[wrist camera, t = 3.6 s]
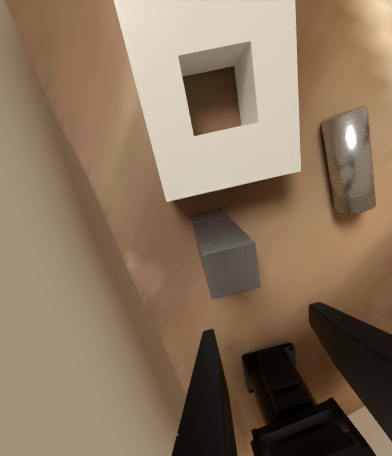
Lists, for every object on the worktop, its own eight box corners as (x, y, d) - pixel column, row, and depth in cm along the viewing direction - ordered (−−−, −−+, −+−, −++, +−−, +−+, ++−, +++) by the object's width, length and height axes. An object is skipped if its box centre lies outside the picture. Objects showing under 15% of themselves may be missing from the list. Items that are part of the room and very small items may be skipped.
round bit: (330, 205, 21) (366, 196, 20) (341, 216, 18) (383, 207, 17) (316, 122, 18) (357, 106, 17) (327, 122, 15) (375, 103, 14)
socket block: (277, 168, 18) (300, 171, 15) (167, 194, 18) (166, 201, 15) (265, -7, 14) (292, -57, 11) (123, 21, 14) (108, -22, 11)
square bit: (227, 238, 20) (260, 287, 12) (197, 246, 20) (212, 299, 12) (222, 209, 19) (255, 242, 11) (190, 216, 19) (202, 255, 11)
